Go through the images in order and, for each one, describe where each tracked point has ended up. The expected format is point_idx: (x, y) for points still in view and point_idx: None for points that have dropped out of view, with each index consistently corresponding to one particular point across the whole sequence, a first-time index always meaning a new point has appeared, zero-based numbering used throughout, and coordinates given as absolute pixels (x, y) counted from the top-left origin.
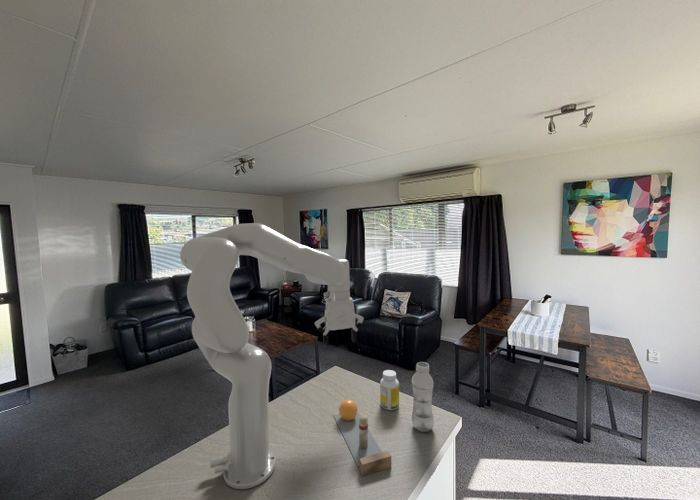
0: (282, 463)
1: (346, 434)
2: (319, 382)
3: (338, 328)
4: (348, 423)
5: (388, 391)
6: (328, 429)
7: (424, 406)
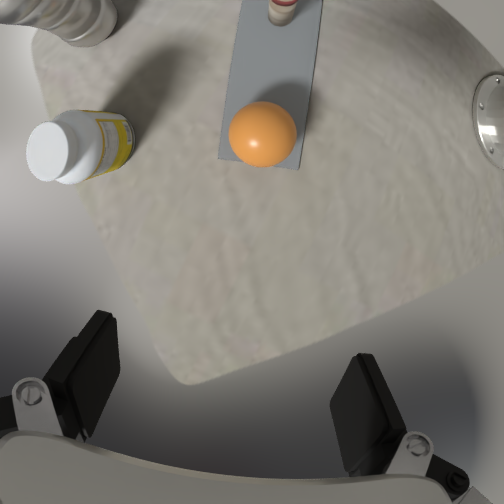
0: (462, 90)
1: (302, 72)
2: (258, 350)
3: (302, 491)
4: None
5: (96, 116)
6: (338, 122)
7: None
